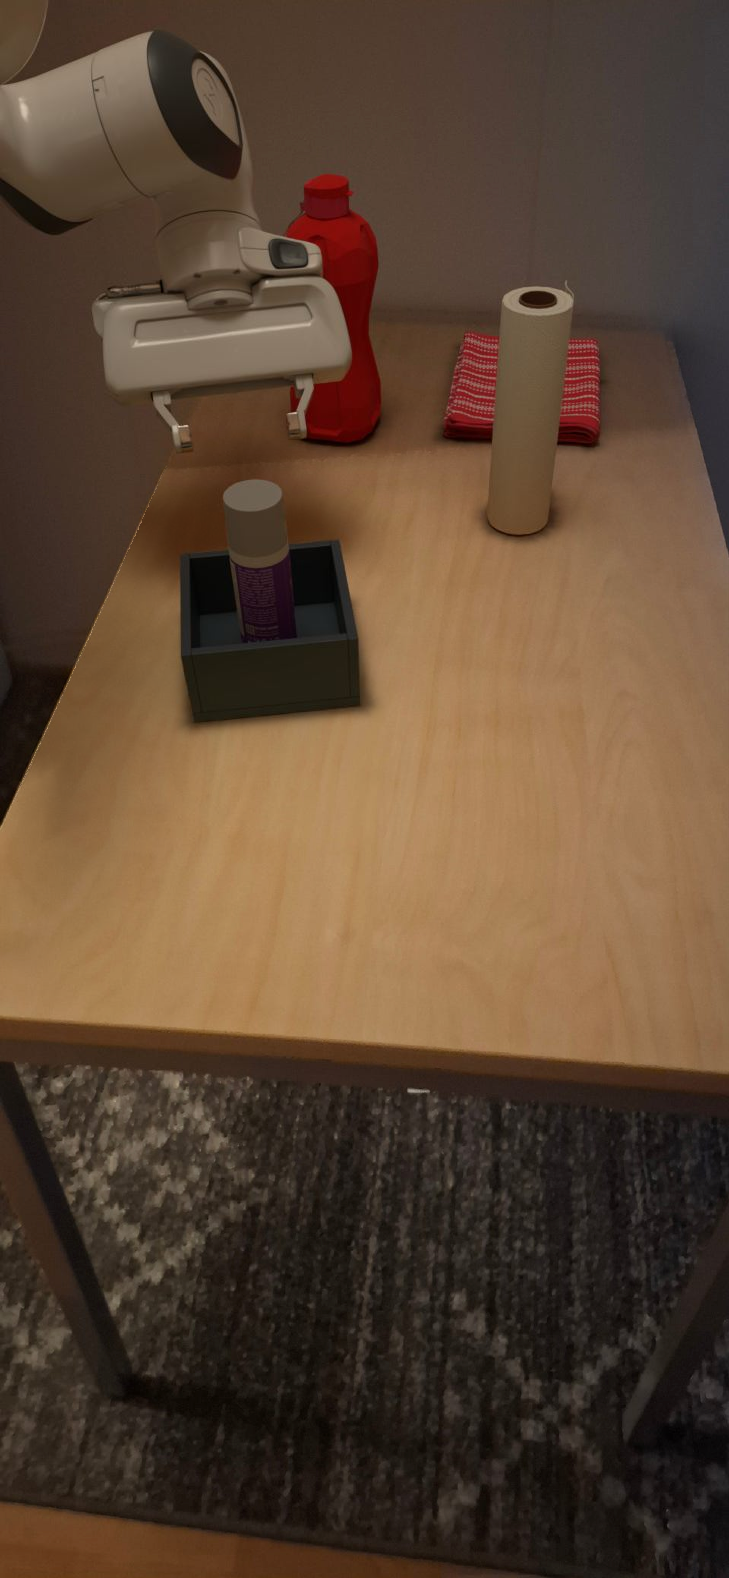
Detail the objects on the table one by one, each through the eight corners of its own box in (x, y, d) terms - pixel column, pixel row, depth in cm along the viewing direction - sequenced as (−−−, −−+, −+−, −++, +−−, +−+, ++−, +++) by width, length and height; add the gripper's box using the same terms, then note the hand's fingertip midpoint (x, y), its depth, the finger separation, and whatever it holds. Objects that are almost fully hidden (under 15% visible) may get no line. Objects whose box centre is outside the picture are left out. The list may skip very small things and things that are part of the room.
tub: (193, 722, 84) (180, 655, 79) (192, 619, 93) (180, 553, 88) (360, 705, 85) (358, 638, 80) (342, 605, 94) (339, 539, 89)
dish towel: (440, 441, 114) (441, 418, 112) (459, 346, 130) (460, 325, 128) (599, 450, 112) (603, 426, 110) (598, 352, 128) (601, 330, 126)
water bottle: (296, 400, 121) (278, 159, 103) (387, 411, 119) (385, 165, 101) (270, 439, 115) (245, 190, 97) (365, 451, 113) (359, 197, 95)
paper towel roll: (501, 542, 100) (520, 317, 85) (477, 510, 104) (490, 290, 89) (569, 527, 102) (600, 303, 86) (542, 496, 106) (567, 277, 90)
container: (309, 650, 88) (297, 493, 78) (269, 677, 86) (250, 519, 75) (272, 627, 91) (254, 471, 80) (231, 652, 88) (208, 496, 78)
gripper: (81, 270, 81) (109, 447, 82) (339, 244, 83) (365, 417, 84) (92, 305, 88) (119, 470, 88) (332, 280, 90) (357, 441, 90)
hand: (241, 444), depth 86 cm, fingers open, 8 cm apart
